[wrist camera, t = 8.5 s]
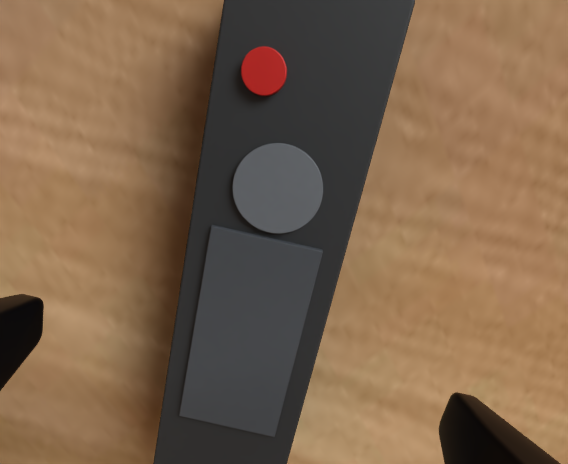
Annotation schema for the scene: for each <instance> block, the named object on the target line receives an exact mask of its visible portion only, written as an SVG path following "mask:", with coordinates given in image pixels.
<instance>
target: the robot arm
mask: <svg viewBox="0 0 568 464" xmlns="http://www.w3.org/2000/svg"><path fill="white" fill-rule="evenodd" d="M43 308H44V306H43V301H42V300H41V299H40V298H38V297H34V296H29V295H25V294H19V295H14V296H9V297H4V298H0V391H1V389H2V388H3V387H4V386H5V384H6V383H7V382H8V381H9V379H10V378H11V377H12V375H13V374H14V373H15V372H16V370H17V369H18V368H19V367H20V365H21V364H22V363H23V362H24V360H25V359H26V358H27V357H28V355H29V354H30V353H31V351H32V350H33V349H34V348H35V346H36V345H37V344H38V342H39V340H40V338H41V336H42V331H43ZM439 436H440V442H441V447H442V452H443V457H444V462H445V464H560V463H559V462H558V461H556V460H555V459H554V458H552V457H551V456H550V455H549V454H547V453H546V452H545V451H543V450H542V449H541V448H540V447H538V446H537V445H536V444H534V443H533V442H532V441H531V440H529V439H528V438H527V437H526V436H524V435H523V434H522V433H520V432H519V431H518V430H517V429H515V428H514V427H513V426H511V425H510V424H509V423H508V422H506V421H505V420H504V419H502V418H501V417H500V416H499V415H497V414H496V413H495V412H493V411H492V410H491V409H490V408H488V407H487V406H486V405H485V404H483V403H482V402H481V401H479V400H478V399H477V398H475V397H474V396H471V395H466V394H462V393H454V394H452V395H451V397H450V399H449V401H448V404H447V406H446V409H445V411H444V414H443V416H442V418H441V421H440V425H439Z"/></svg>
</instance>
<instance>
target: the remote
mask: <svg viewBox="0 0 568 464" xmlns="http://www.w3.org/2000/svg"><path fill="white" fill-rule="evenodd" d="M414 4H415V0H224V4H223V10H222V17H221V23H220V30H219V36H218V43H217V50H216V56H215V63H214V69H213V76H212V82H211V89H210V96H209V102H208V109H207V115H206V122H205V128H204V135H203V141H202V148H201V155H200V161H199V168H198V174H197V181H196V187H195V194H194V201H193V207H192V214H191V220H190V227H189V233H188V240H187V246H186V253H185V260H184V266H183V273H182V279H181V286H180V292H179V299H178V306H177V312H176V319H175V325H174V332H173V338H172V345H171V351H170V358H169V365H168V371H167V378H166V384H165V391H164V397H163V404H162V410H161V417H160V424H159V430H158V437H157V443H156V450H155V456H154V463H153V464H287V461H288V457H289V454H290V450H291V446H292V443H293V439H294V436H295V432H296V428H297V425H298V421H299V418H300V414H301V410H302V407H303V403H304V400H305V396H306V392H307V389H308V385H309V382H310V378H311V374H312V371H313V367H314V364H315V360H316V356H317V353H318V349H319V346H320V342H321V338H322V335H323V331H324V328H325V324H326V320H327V317H328V313H329V310H330V306H331V302H332V299H333V295H334V292H335V288H336V284H337V281H338V277H339V274H340V270H341V267H342V263H343V259H344V256H345V252H346V249H347V245H348V241H349V238H350V234H351V231H352V227H353V223H354V220H355V216H356V213H357V209H358V205H359V202H360V198H361V195H362V191H363V187H364V184H365V180H366V177H367V173H368V169H369V166H370V162H371V159H372V155H373V151H374V148H375V144H376V141H377V137H378V133H379V130H380V126H381V123H382V119H383V115H384V112H385V108H386V105H387V101H388V97H389V94H390V90H391V87H392V83H393V80H394V76H395V72H396V69H397V65H398V62H399V58H400V54H401V51H402V47H403V44H404V40H405V36H406V33H407V29H408V26H409V22H410V18H411V15H412V11H413V8H414Z"/></svg>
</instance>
